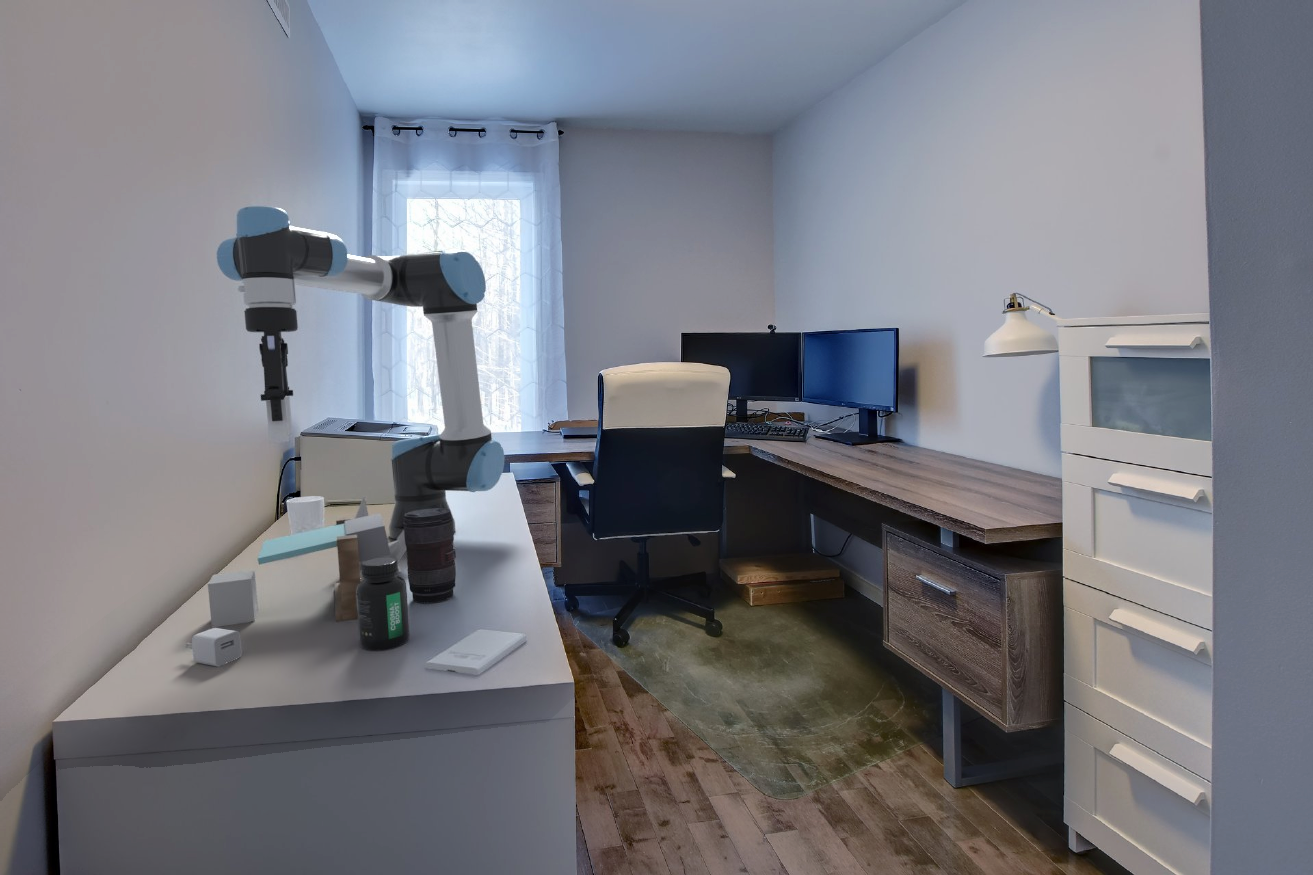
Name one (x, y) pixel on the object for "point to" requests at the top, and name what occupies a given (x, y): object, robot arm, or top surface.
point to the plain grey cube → (233, 598)
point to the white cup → (305, 513)
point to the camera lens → (430, 554)
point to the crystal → (395, 547)
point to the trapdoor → (330, 540)
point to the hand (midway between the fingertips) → (281, 438)
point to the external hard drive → (476, 652)
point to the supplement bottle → (382, 605)
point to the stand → (347, 575)
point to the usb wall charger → (216, 646)
